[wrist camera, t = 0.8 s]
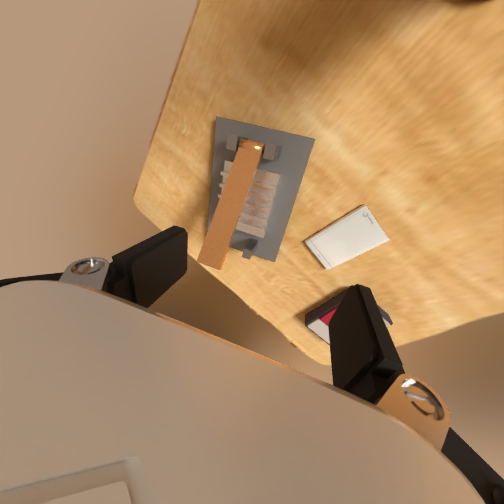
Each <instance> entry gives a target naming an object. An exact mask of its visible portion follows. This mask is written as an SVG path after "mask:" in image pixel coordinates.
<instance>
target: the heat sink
mask: <svg viewBox="0 0 504 504" xmlns="http://www.w3.org/2000/svg"><path fill="white" fill-rule="evenodd" d="M241 139H246V140H248V139H249V138H246V137H241V136H237V135H232V134H228V136H227V145H226V149H229V150H233V151H238V148H239V142H240V140H241ZM281 150H282V146H279V145H275V144H270V143H266V145H265V150H264V155H263V158H264V159H268V160H272V161H274V160H279V158H280V154H281ZM233 162H234V161H233V160H225V164H224V171H221V174H220V175H223V182H222V183H220V184H219V187H222V191H223V189H224V186H225V183H226V181H227V178H228V175H229V172H230V170H231V167H232V164H233ZM281 177H282V173H278V172H275V171H271V170H267V169H263V168H259V167H258V168H257V171H256V174H255V176H254V179H253V182H252V185H251V187H250V190H249V193H248V196H247V199H246V201H245V204H244V207H243V210H242V212H241V215H240V218H239V221H238V224H237V226H236V229H237V230H240V231H243V232H246V233H249V234H252V235H255V236H258V237H261V238H264V237H265V235H266V233H267V229H268V225H269V222H270V218H271V214H272V211H273V207H274V203H275V199H276V196H277V192H278V188H279V185H280V181H281ZM222 191H221V193H220V194H218V198H220V197H221V194H222ZM258 241H259V240H256V239H253V238H251V240H250V241H249V242H248V244H247V245H246V246H245V248H244V251H243V255H242V257H244V258H247V259H250V258H251V257H252V255H253V253H254V252H255V250H256V249H257V245H258Z"/></svg>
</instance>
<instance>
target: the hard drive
mask: <svg viewBox="0 0 504 504" xmlns="http://www.w3.org/2000/svg"><path fill="white" fill-rule="evenodd" d="M387 241H389V238H388V237H387V235H386V234H385V232H384V231H383V229H382V228H381V226H380V225H379V223H378V222H377V220H376V219H375V218H374V216H373V215H372V213H371V212H370V210H369V209H368V208H367V206H366V205H365V204H363V205H362V206H360V207H359V208H357V209H355V210H354V211H352V212H350V213H349V214H347V215H346V216H344V217H342V218H341V219H339V220H337V221H336V222H334V223H333V224H331V225H329V226H328V227H326V228H325V229H323V230H321V231H320V232H318V233H317V234H315V235H313V236H312V237H310V238H308V239H307V240H305V243H306V244H307V246H308V247H309V248H310V249H311V251H312V252H313V253H314V254H315V256H316V257H317V258H318V259H319V261H320V262H321V263H322V264H323V265H324V267H325V268H326V269H327V270H329V269H331V268H333V267H335V266H337V265H339V264H342V263H344V262H346V261H348V260H350V259H352V258H354V257H356V256H358V255H360V254H362V253H364V252H366V251H369V250H371V249H373V248H375V247H377V246H379V245H381V244H383V243H385V242H387Z"/></svg>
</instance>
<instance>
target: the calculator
mask: <svg viewBox="0 0 504 504" xmlns="http://www.w3.org/2000/svg"><path fill="white" fill-rule="evenodd" d="M348 289H349V288H348ZM348 289H346V290H345V291H343V292H342V293H340V294H338V295H337V296H335V297H334V298H332V299H331V300H329V301H327V302H326V303H324V304H323V305H321V306H320V307H318V308H316V309H314V310H312V311H311V312H309V313H308V314H306V315H305V326H306V327H308V328H309V329H310V330H311V331H313V332H314V333H315V334H316V335H318V336H319V337H320V338H321V339H323V340H324V341H325V342H326V343H327V344H329V345H330V340H329V329H328V325H329V321H330V319H331V317H332V316H333V314H334V312H335V311H336V309H337V307H338V306H339V304H340V303H341V301H342V299H343V298H344V296H345V294H346V293H347V291H348ZM377 306H378V305H377ZM378 308H379V311H380V313H381V315H382V318H383V320H384V322H385V325H386V327H389V326H390V325H392V324H393V323H392V321H391V319H390V317H389V315H388V314H387V313H386V312H385V311H384V310H383V309H381V308H380V307H379V306H378Z"/></svg>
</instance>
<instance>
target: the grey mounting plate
mask: <svg viewBox="0 0 504 504" xmlns="http://www.w3.org/2000/svg"><path fill="white" fill-rule="evenodd" d="M228 134H232V135H237V136H241V137H246V138H249V139H248V140H250V141H254V142H258V143H262V144H265V145H266V143H270V144H275V145H279V146H282V150H281V154H280V158H279V160H274V161H272V160H268V159H264V158H263V155H264V153H263V155H262V157H261V160H260V162H259V165H258V167H259V168H263V169H267V170H271V171H275V172H278V173H282V177H281V181H280V185H279V188H278V192H277V196H276V199H275V203H274V207H273V211H272V214H271V218H270V222H269V225H268V229H267V233H266V235H265V237H264V238H261V237H258V236H255V235H252V234H249V233H246V232H243V231H240V230H237V229H235V232H234V235H233V237H232V240H231V243H230V246H229V247H232V248H235V249H238V250H240V251H244V248H245V246H246V245H247V244H248V242H249V241H250V240H251V238H253V239H256V240H259V241H258V245H257V249H256V250H255V252H254V253H253V255H255V256H258V257H261V258H264V259H267V260H270V261H272V262H275V260H276V257H277V254H278V251H279V248H280V245H281V242H282V239H283V236H284V233H285V230H286V227H287V224H288V221H289V218H290V214H291V211H292V208H293V205H294V202H295V199H296V196H297V193H298V190H299V187H300V184H301V181H302V178H303V175H304V172H305V169H306V166H307V163H308V159H309V156H310V153H311V150H312V147H313V144H314V141H315V139H313V138H309V137H304V136H300V135H296V134H291V133H287V132H282V131H278V130H274V129H269V128H265V127H261V126H256V125H252V124H247V123H243V122H239V121H234V120H230V119H226V118H221V117H217V116H216V127H215V139H214V152H213V164H212V176H211V188H210V200H209V213H208V225H207V232H208V229H209V227H210V224H211V221H212V219H213V216H214V213H215V210H216V208H217V205H218V202H219V200H220V198H218V194H220V193H221V191H222V187H219V184H220V183H222V182H223V175H220V174H221V171H224V164H225V160H233V161H234V159H235V156H236V154H237V151H233V150H229V149H226V145H227V136H228Z"/></svg>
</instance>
